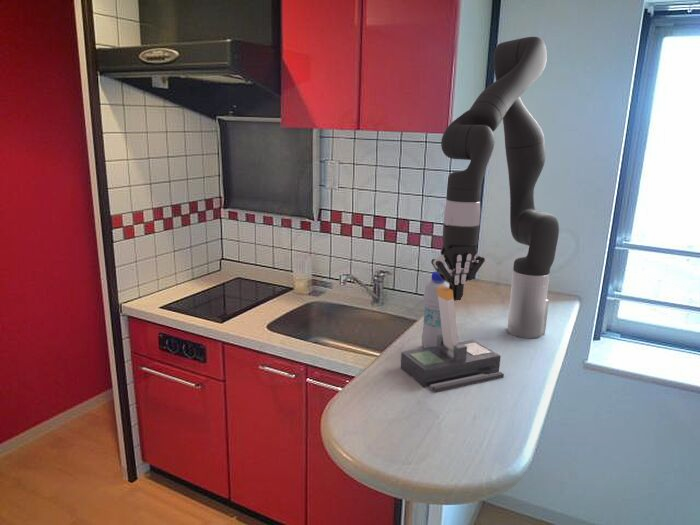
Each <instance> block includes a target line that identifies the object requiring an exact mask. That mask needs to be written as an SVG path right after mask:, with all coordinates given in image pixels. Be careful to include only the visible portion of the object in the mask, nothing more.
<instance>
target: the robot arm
mask: <svg viewBox="0 0 700 525" xmlns="http://www.w3.org/2000/svg"><path fill="white" fill-rule="evenodd" d="M547 59H548V52H547V47H546V44H545V42H544V40H543V39H542V38H541V37H538V36H526V37H521V38H517V39H512V40H508V41H502V42H500V43H499V44H497V46H496V47H495V49H494V52H493V71H494V78H495V81H494V82H493V83H492V84H490V85H489V86H487V87H486V88H485V89H484V90H483V91H482V92H481V93H480V94H478V96H477V98H476V100H475V101H474V103H473V104H472V106H470V108H469V109H468V110H467V111H465V112H464V113H462V114H461V115H460V116H459V117H457V118H456V119H455V120H453V121H452V122H451V123H450V124H448V126H447V127H446V128H445V131H444V132H443V133H442V137H441V141H440V142H441V143H440V146H441V151H442V152H443V154H444V155H445V156H446V157H447V158H448V159H450V160H451V159H452V160H461V161H462V160H463V161H464V160H466V161H470V162H469V164H468V166H467V167H466V168H465V169H463V170H457V171H453V172H451V173H450V174H448V176H447V184H446V186H447V187H446V196H445V197H446V200H445V205H444V212H443V225H442V236H441V237H442V238H441V241H442V248H441V250H440V255H439V256H437V258H436V259H435V258H433V259H431V261H430V262H431V263H430V264H432V266H433V268H434V269H435V271H437V272H438V274H439V275H440V277H441V278H442V280H445V282H446V283H448V284H449V289H451V290H453V297H454V302H455V301H461V300H462V298H463V297H464V296H463V295H464V286H465V284H466V282H468V281H472V279H473V278H474V277H475V275H476V274H477V273H478V271H479V270H480V268H481V267H482V265H483V264H484V263H485V261H486V259H485V258H484V257H483V256H480V254H478V249H477V245H478V243H479V234H480V222H481V198H482V196H481V195H482V184H483V180H484V176H485V173H486V170H487V167H488V164H489V161H490V159H491V157H492V153H493V151H494V148H495V143H496V141H495V135H494V132H495V130H496V129H497V128H498V127H499V125H500V124H501V122H502V124H503V125H502V126H503V133H504V146H505V147H504V149H505V157H506V164H507V172H508V183H509V184H508V185H509V201H510V202H509V203H510V204H509V205H510V208H509V209H510V210H509V211H510V212H509V213H510V214H509V216H510V218H509V219H510V220H509V221H510V232H511V235H512V238H513V239H514V240H515V242H517V243H519V244H521V245H524V246H529V247H528V250H527V255H526V256H522V257H517V258H515V259H514V261H513V268H512V276H511V286H510V288H511V289H510V295H509V296H510V298H509V305H508V306H509V307H508V309H509V310H508V317H507V325H506V328H507V329H506V330H507V332H508V333H509V334H511V335H513V336H514V337H515V336H516V337H519V338H524V339H536V338H540V337H542V336H543V335H544V334H546V329H547V320H548V312H549V304H550V300H549V299H548V298H547V297H548V290H549V280H550V273H551V267H552V265H553V263H554V261H555V258H556V252H557V251H556V250H557V245H558V240H559V234H560V226H559V221H558V218H557V217H556V216H555V215H554V214H551V213H548V212H545V211H543V212H542V211H537V210H536V207H535V201H534V200H535V198H534V193H535V187H536V183H537V181H538V179H539V177H540V176H541V173H542V171H543V169H544V165H545V164H546V163H545V162H546V147H545V146H546V144H545V135H544V132H543V129H542V127H541V126H540V124H539V123H538V122H537V120H536V119H535V118H534V117H533V115H532V114H531V113H530V111H529V110H528V109H527V107H526V106H525V104H524V103H523V101H522V99H521V95H523V93H525V91H526V90H527V89H528V88H530V87H531V85H532V84H533V83H534V82H536V80H538V78H539V77H540V76H541V75H542V74H543V72H544V71H545V68H546V66H547V61H548V60H547Z"/></svg>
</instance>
